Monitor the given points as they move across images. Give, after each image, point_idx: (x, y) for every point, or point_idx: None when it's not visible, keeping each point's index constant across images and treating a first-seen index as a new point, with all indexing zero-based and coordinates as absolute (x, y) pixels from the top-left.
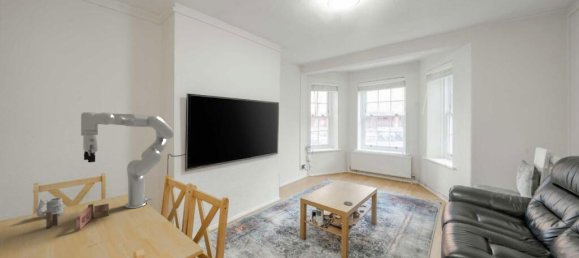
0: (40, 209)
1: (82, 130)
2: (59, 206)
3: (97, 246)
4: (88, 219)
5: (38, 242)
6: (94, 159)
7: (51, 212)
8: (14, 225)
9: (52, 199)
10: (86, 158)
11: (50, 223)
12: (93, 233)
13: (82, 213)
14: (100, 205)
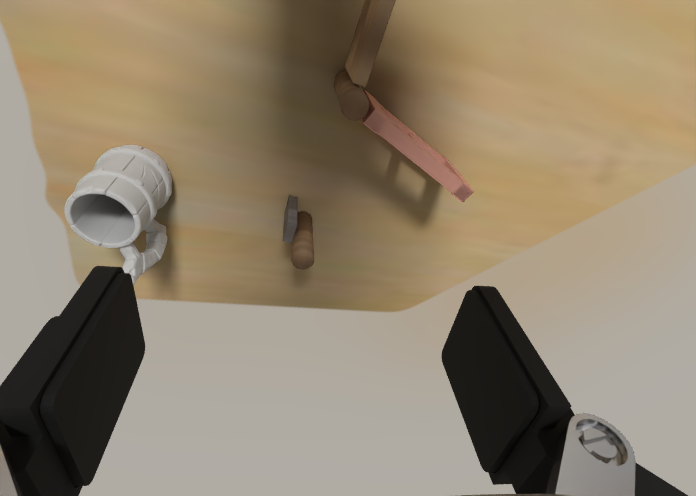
0: (155, 253)
1: None
2: (148, 186)
3: (633, 165)
4: (390, 114)
5: (413, 261)
6: (510, 328)
7: (312, 255)
8: (170, 283)
9: (75, 220)
10: (129, 350)
11: (312, 229)
12: (523, 137)
13: (442, 173)
14: (374, 50)
